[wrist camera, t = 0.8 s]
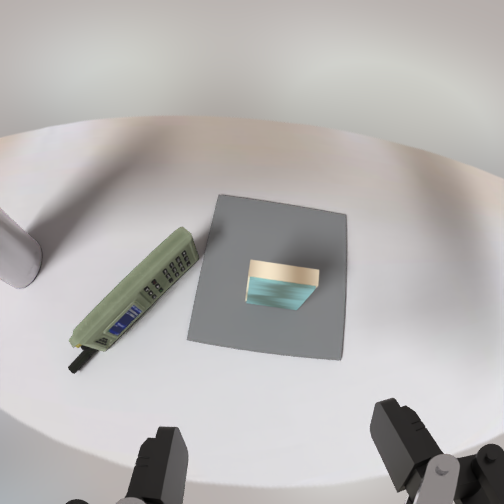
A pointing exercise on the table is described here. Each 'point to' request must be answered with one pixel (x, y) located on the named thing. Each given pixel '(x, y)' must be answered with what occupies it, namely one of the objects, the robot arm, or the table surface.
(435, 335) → the table surface
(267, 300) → the tile
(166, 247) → the brick cell phone
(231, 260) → the mat
